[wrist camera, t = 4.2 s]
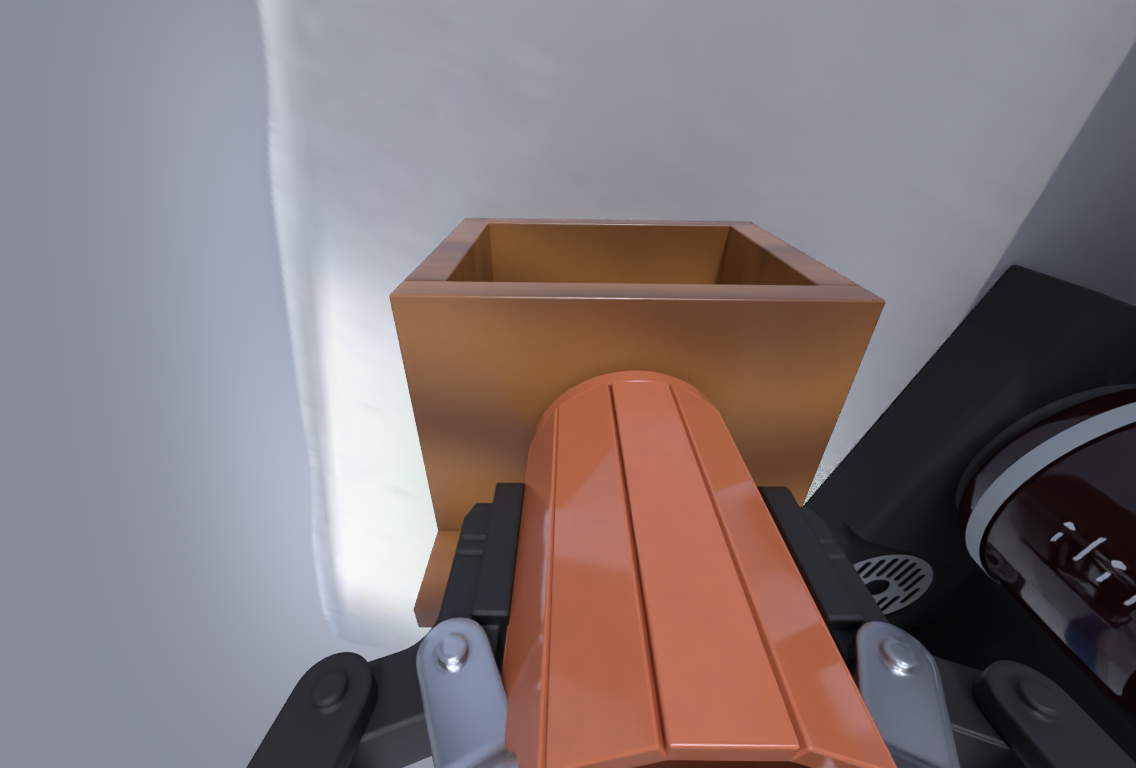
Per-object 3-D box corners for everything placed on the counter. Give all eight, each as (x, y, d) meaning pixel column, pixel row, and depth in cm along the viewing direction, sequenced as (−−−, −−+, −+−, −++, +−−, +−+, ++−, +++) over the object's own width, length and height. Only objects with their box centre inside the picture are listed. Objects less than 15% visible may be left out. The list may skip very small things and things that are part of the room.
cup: (527, 368, 12) (465, 745, 5) (745, 370, 12) (1003, 750, 5) (533, 518, 15) (501, 884, 8) (706, 520, 15) (829, 886, 8)
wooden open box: (464, 217, 20) (335, 347, 9) (751, 221, 20) (979, 353, 9) (484, 401, 25) (418, 628, 14) (711, 404, 25) (824, 630, 14)
